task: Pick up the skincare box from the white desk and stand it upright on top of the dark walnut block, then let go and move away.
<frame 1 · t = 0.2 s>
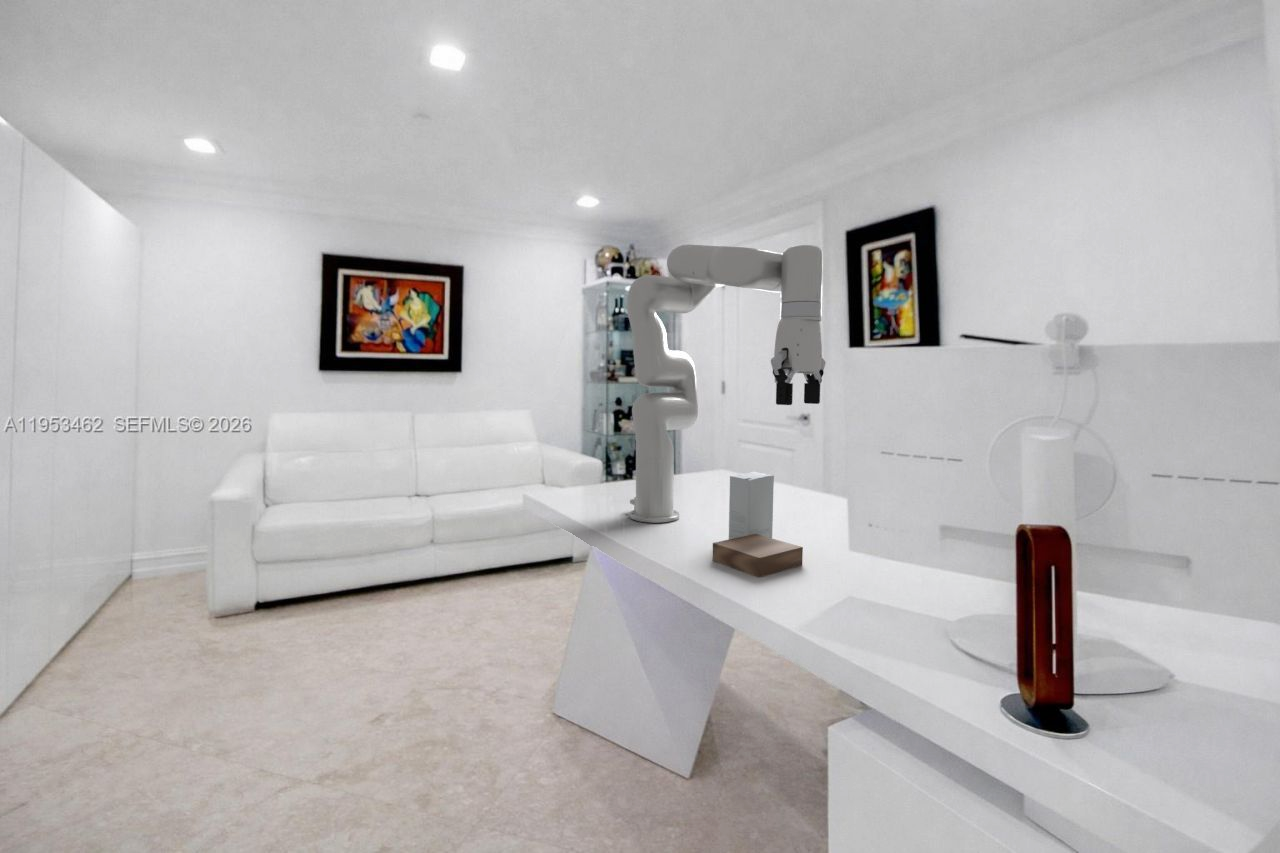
hand: (798, 404, 115), 31 cm above the table, tool pointing down, fingers open, 9 cm apart
skincare box: (750, 543, 131), on the table
walnut block: (756, 562, 116), on the table
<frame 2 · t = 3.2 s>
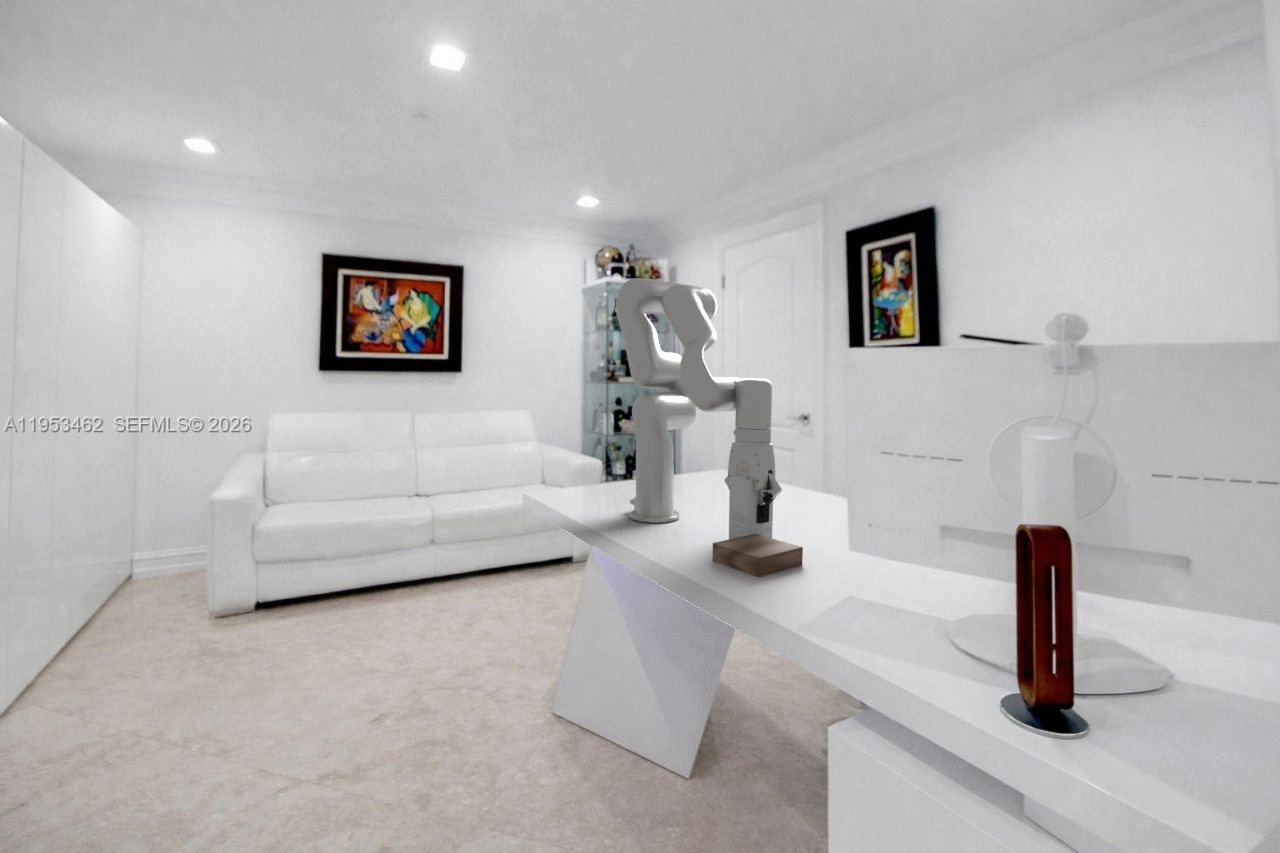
hand: (751, 518, 130), 5 cm above the table, tool pointing down, fingers closed on skincare box, 6 cm apart
skincare box: (750, 543, 131), on the table, touching gripper
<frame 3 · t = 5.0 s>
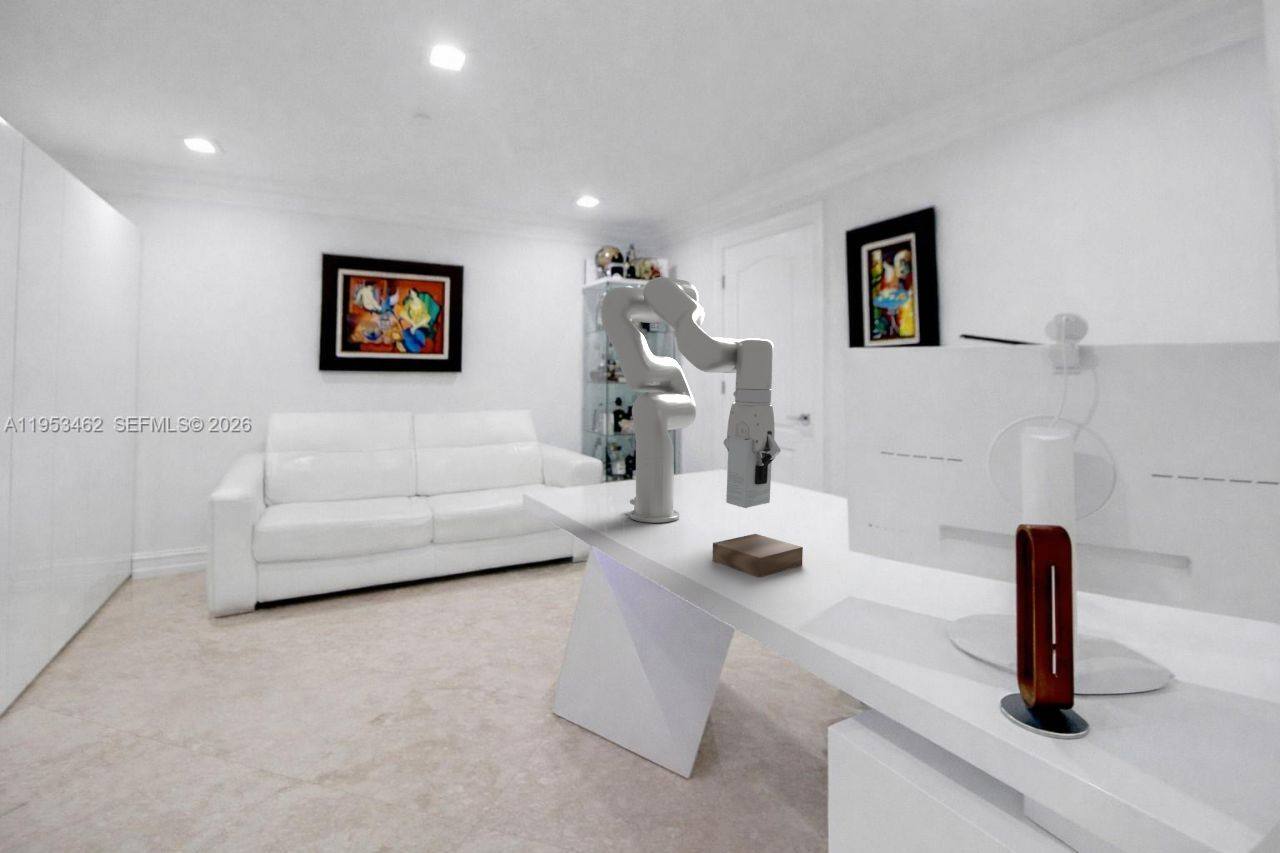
hand: (749, 480, 130), 13 cm above the table, tool pointing down, fingers closed on skincare box, 6 cm apart
skincare box: (747, 504, 131), point 8 cm above the table, touching gripper
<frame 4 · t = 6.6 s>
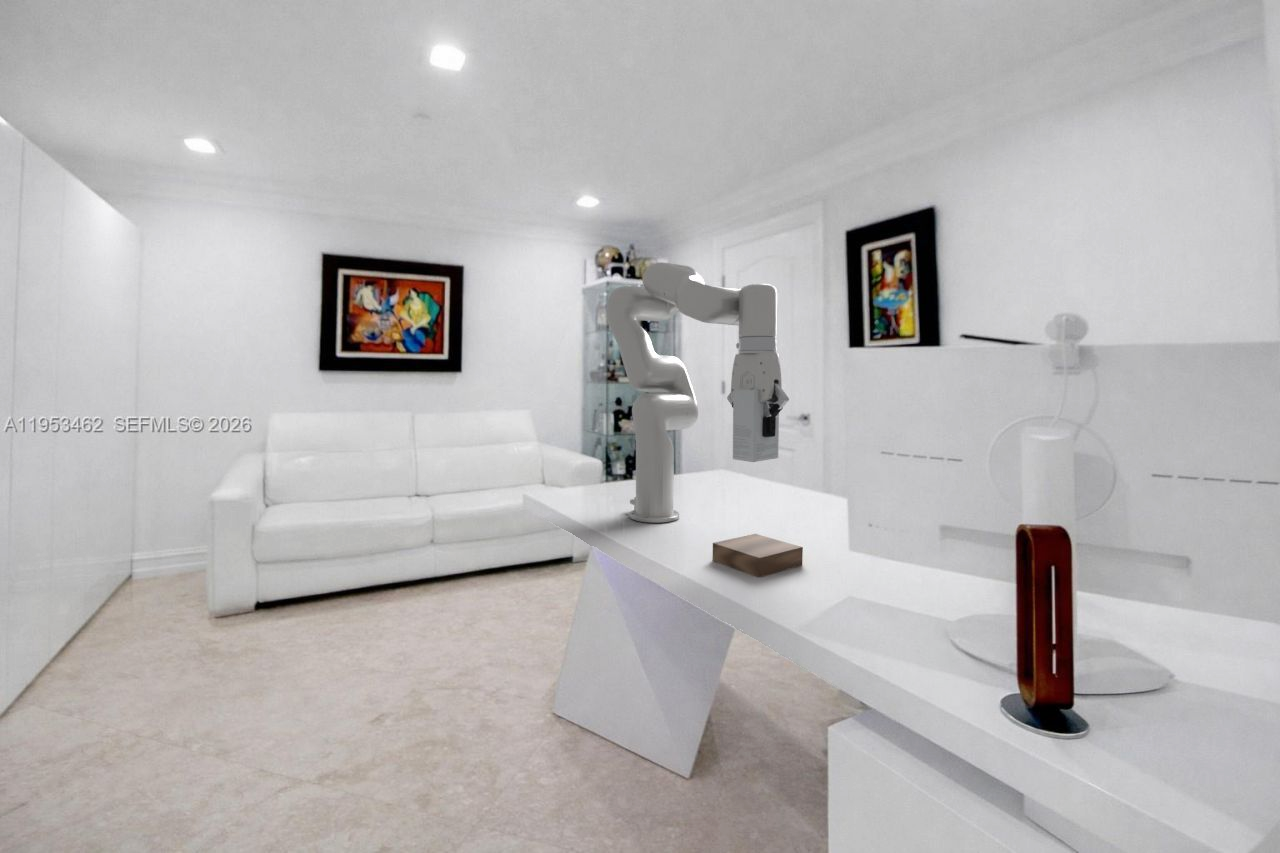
hand: (756, 434, 123), 24 cm above the table, tool pointing down, fingers closed on skincare box, 6 cm apart
skincare box: (755, 460, 124), point 19 cm above the table, touching gripper
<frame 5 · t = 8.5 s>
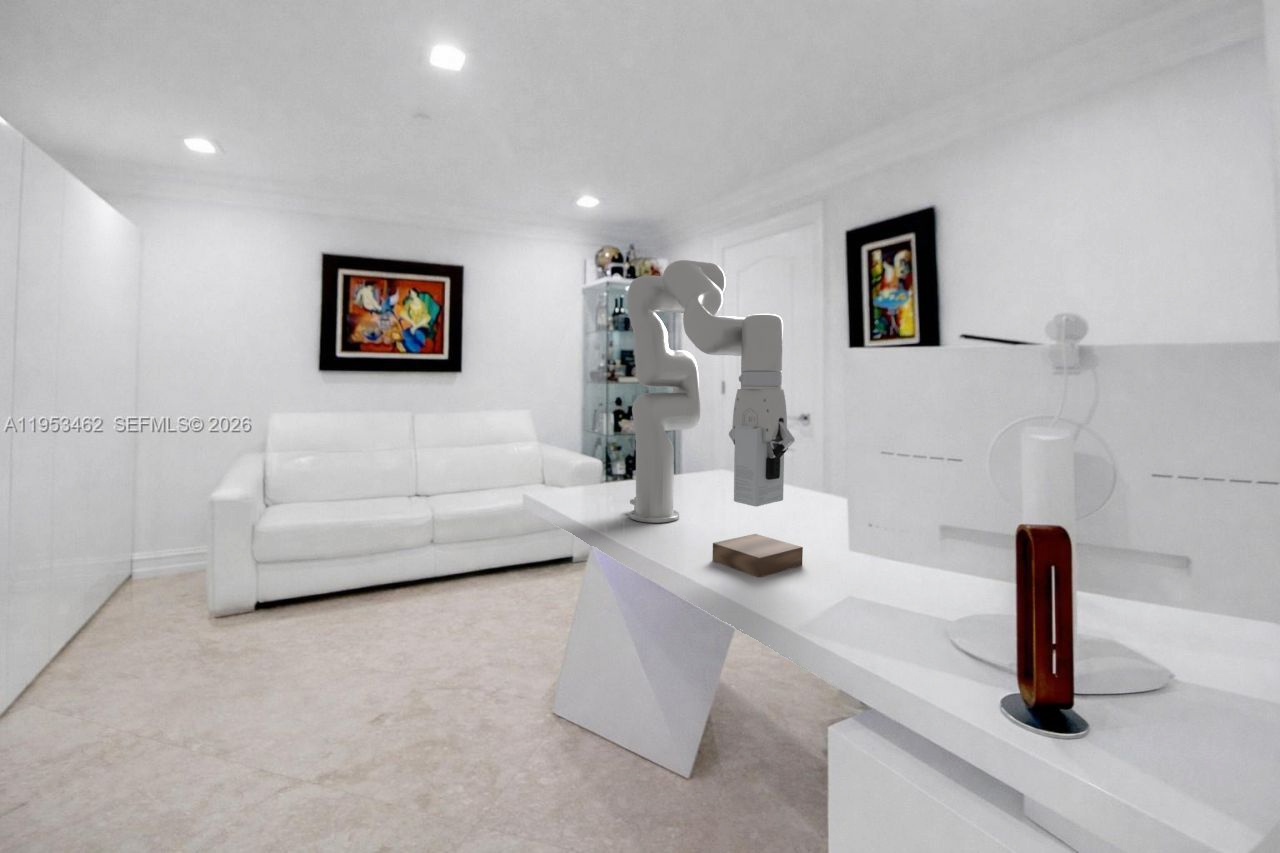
hand: (759, 475, 114), 17 cm above the table, tool pointing down, fingers closed on skincare box, 6 cm apart
skincare box: (758, 503, 115), point 12 cm above the table, touching gripper
when the fingers open (10 cm above the table, at t = 10.1 s): skincare box drops 2 cm, resting on walnut block.
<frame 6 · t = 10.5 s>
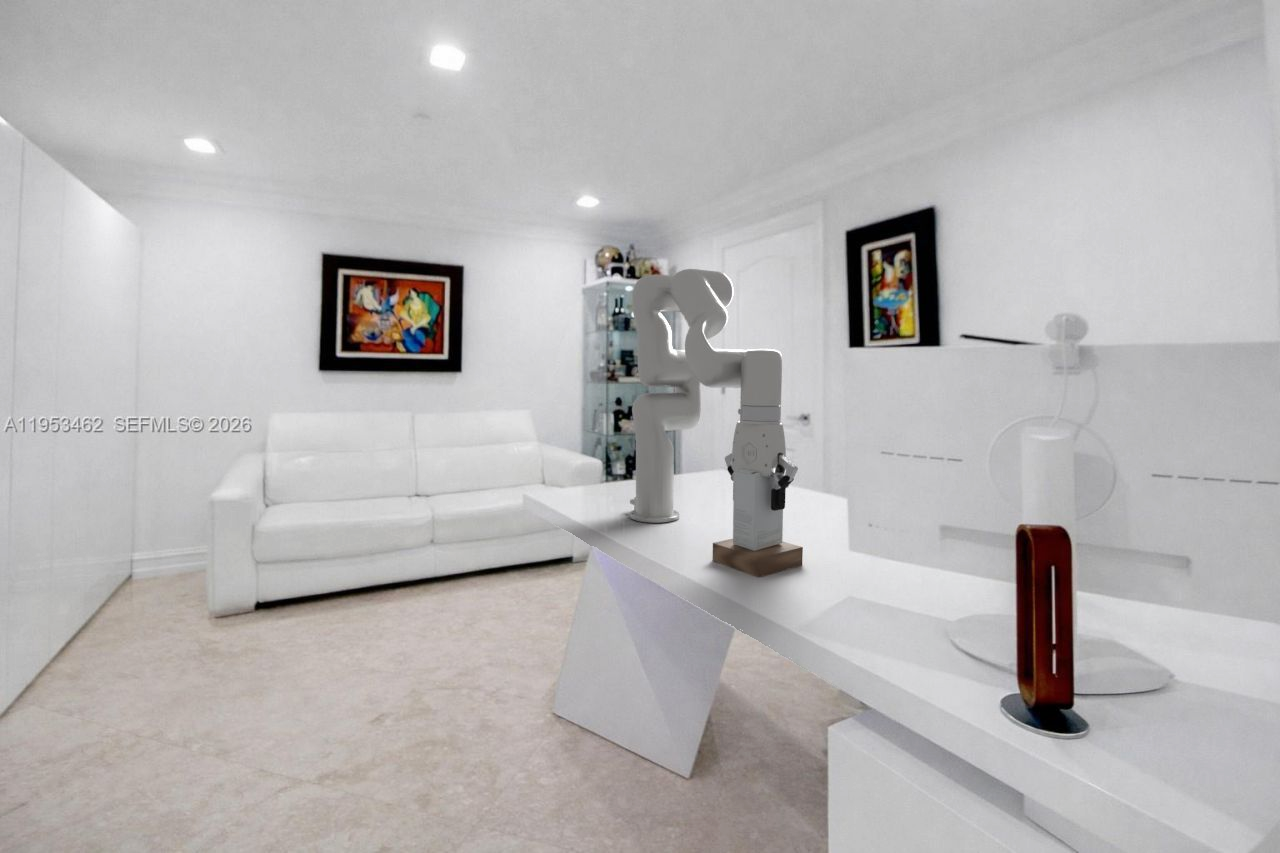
hand: (758, 504, 115), 11 cm above the table, tool pointing down, fingers open, 9 cm apart
skincare box: (757, 545, 116), point 3 cm above the table, touching walnut block
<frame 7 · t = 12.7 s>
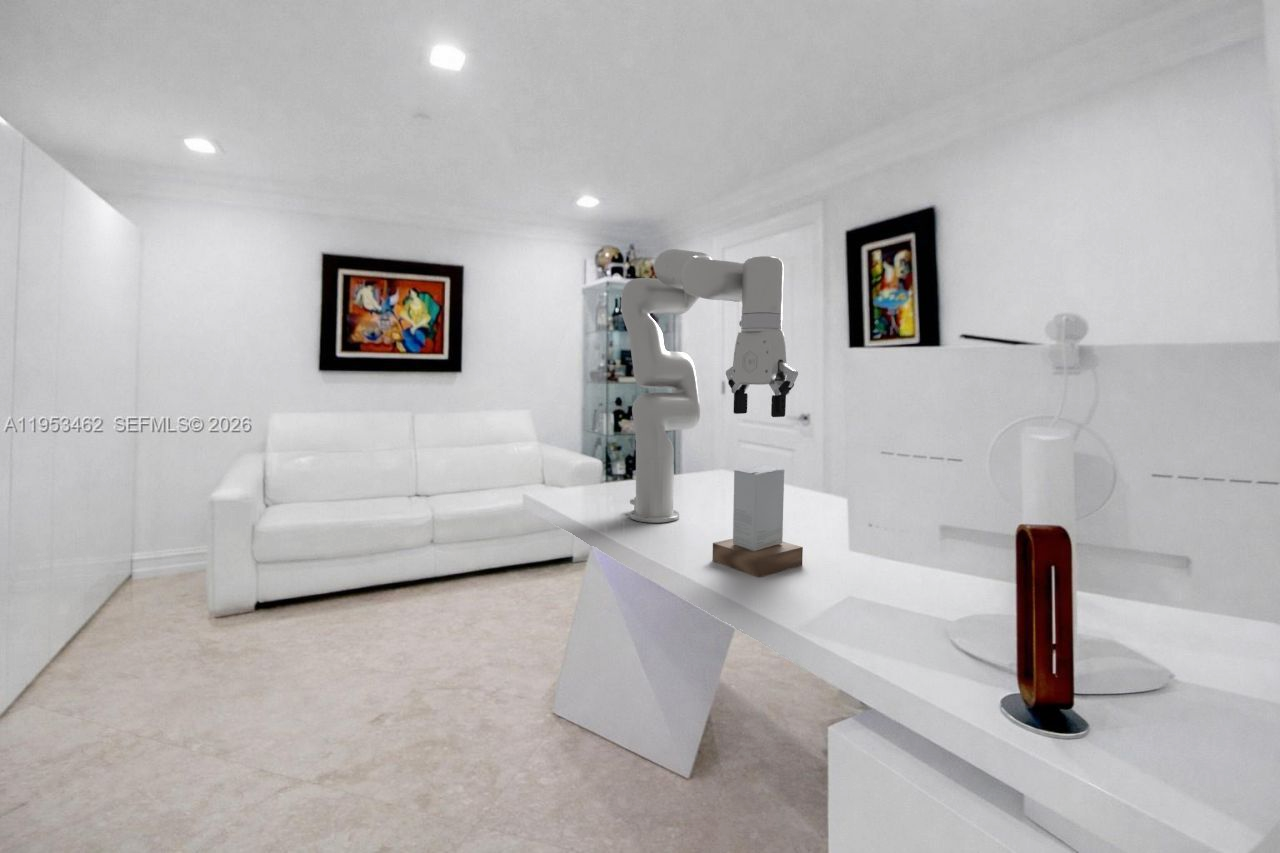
hand: (758, 415, 115), 28 cm above the table, tool pointing down, fingers open, 9 cm apart
nothing on the table moved.
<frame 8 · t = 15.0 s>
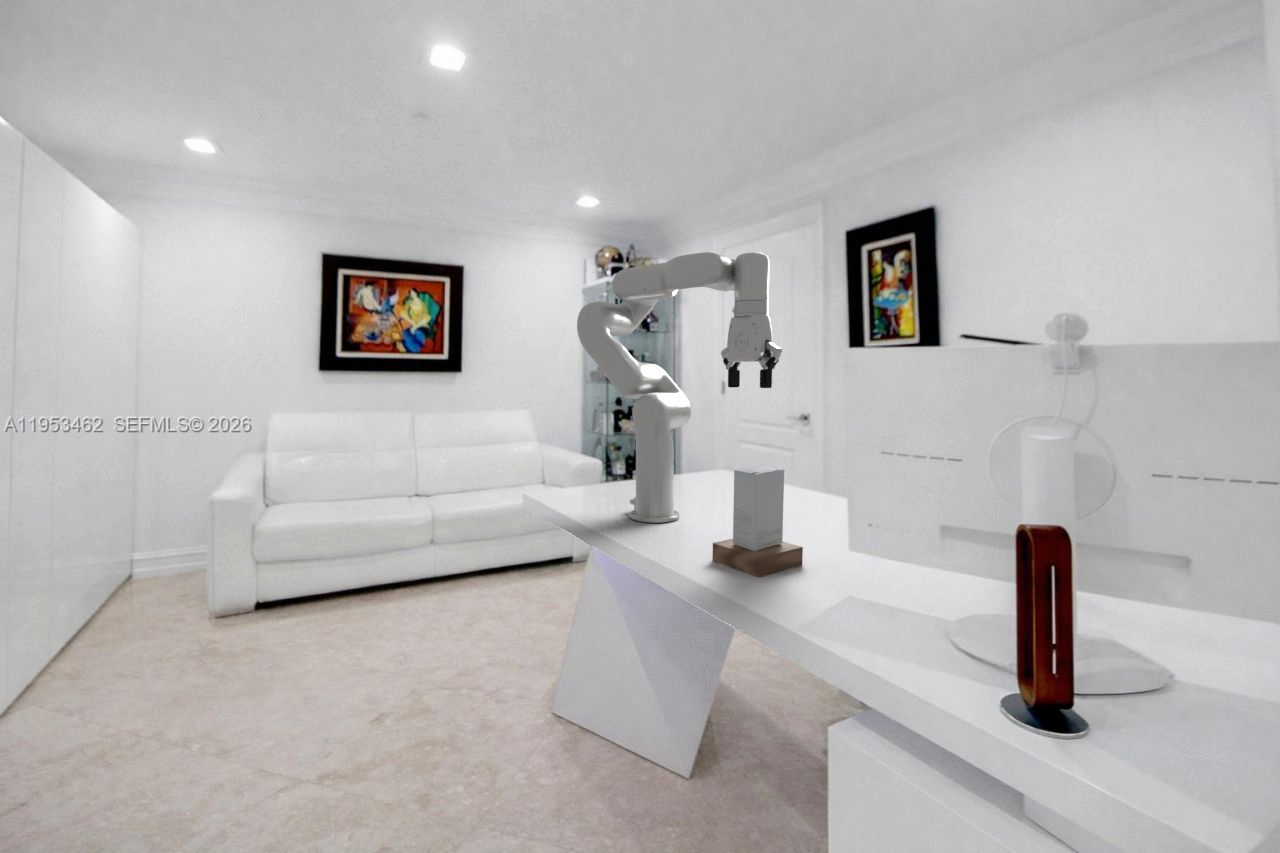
hand: (749, 387, 136), 33 cm above the table, tool pointing down, fingers open, 9 cm apart
nothing on the table moved.
at the end: skincare box inside the target area on the walnut block (0.1 cm from its centre), point 3.3 cm above the walnut block's base; skincare box tilted 0°; the gripper is holding nothing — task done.
